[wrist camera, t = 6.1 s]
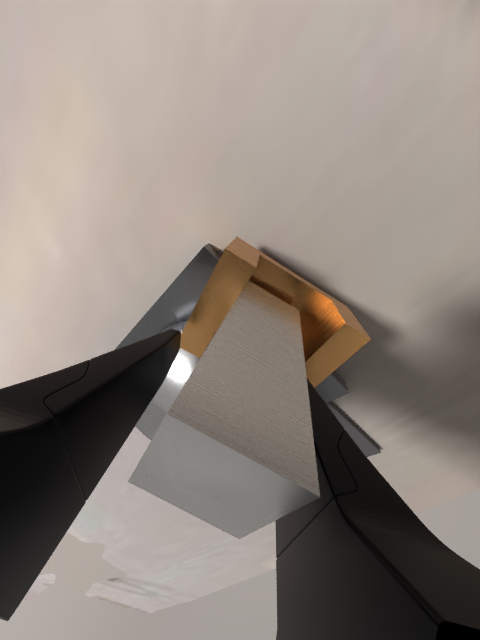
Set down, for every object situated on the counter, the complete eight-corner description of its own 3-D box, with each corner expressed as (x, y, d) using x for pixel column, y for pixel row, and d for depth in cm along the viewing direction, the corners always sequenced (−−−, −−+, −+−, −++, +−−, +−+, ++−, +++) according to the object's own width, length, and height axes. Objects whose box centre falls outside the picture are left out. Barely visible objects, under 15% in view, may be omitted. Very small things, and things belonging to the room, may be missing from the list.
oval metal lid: (240, 443, 19) (232, 503, 16) (129, 390, 18) (89, 443, 14) (374, 323, 12) (422, 381, 8) (204, 216, 10) (164, 223, 7)
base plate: (345, 382, 16) (349, 392, 15) (223, 442, 22) (221, 451, 21) (208, 243, 12) (204, 246, 12) (107, 360, 18) (98, 368, 17)
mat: (378, 446, 19) (380, 452, 19) (305, 470, 22) (305, 475, 22) (325, 397, 17) (327, 402, 17) (254, 431, 20) (253, 436, 20)
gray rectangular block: (298, 310, 11) (320, 496, 4) (267, 350, 12) (239, 539, 5) (248, 279, 10) (166, 413, 3) (222, 324, 12) (128, 482, 5)
